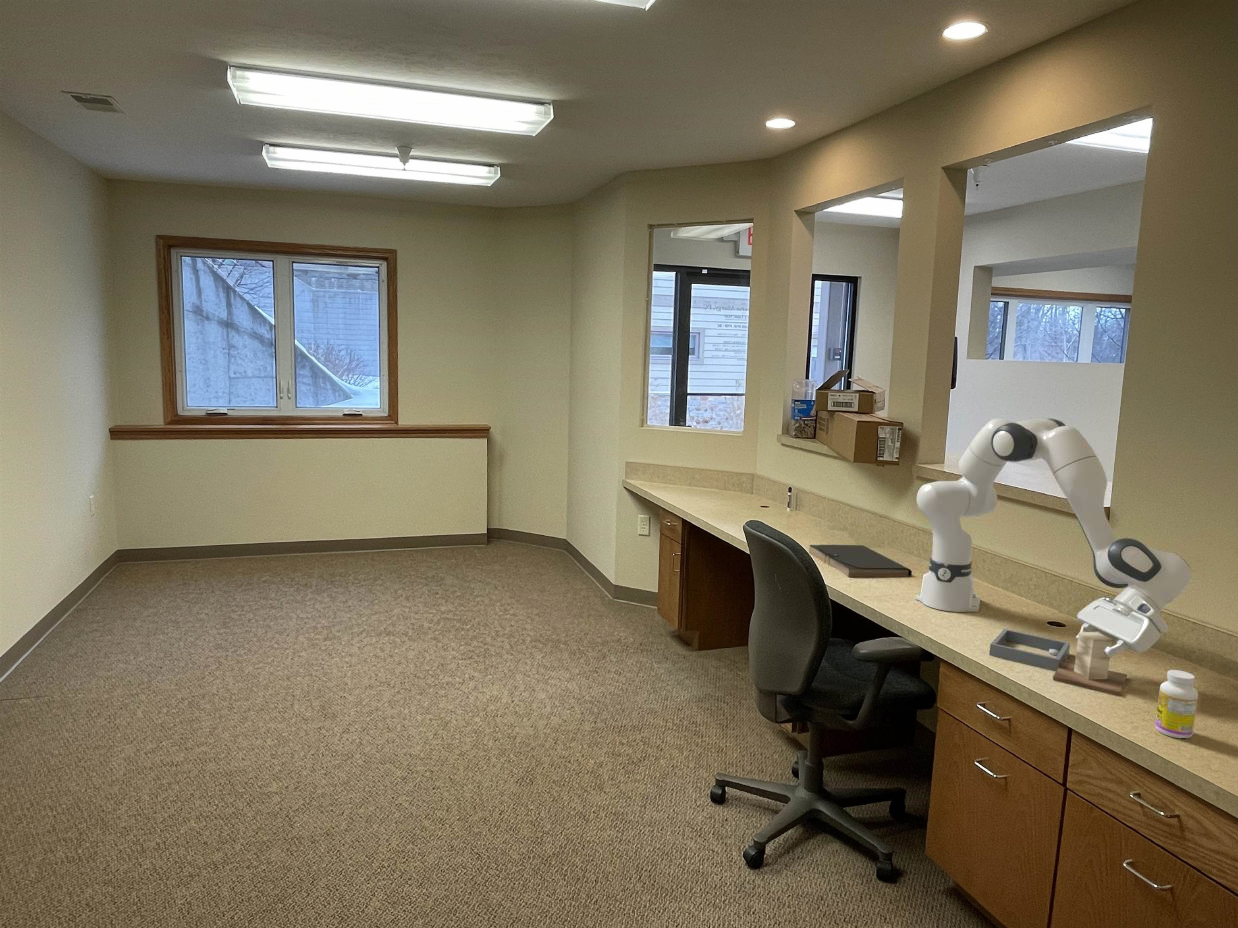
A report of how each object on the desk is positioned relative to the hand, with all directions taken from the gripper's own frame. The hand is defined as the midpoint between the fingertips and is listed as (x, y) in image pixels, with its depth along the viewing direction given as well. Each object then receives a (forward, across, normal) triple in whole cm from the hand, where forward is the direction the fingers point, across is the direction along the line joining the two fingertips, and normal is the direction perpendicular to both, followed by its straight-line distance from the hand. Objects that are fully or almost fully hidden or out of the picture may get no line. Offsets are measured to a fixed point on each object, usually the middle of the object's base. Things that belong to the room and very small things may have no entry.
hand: (1092, 647), depth 198 cm
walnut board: (+5, 0, +6) cm, 8 cm away
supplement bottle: (+7, +28, +5) cm, 29 cm away
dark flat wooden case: (+15, -105, -2) cm, 106 cm away
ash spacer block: (+5, 0, +5) cm, 7 cm away
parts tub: (+9, -16, +2) cm, 19 cm away
